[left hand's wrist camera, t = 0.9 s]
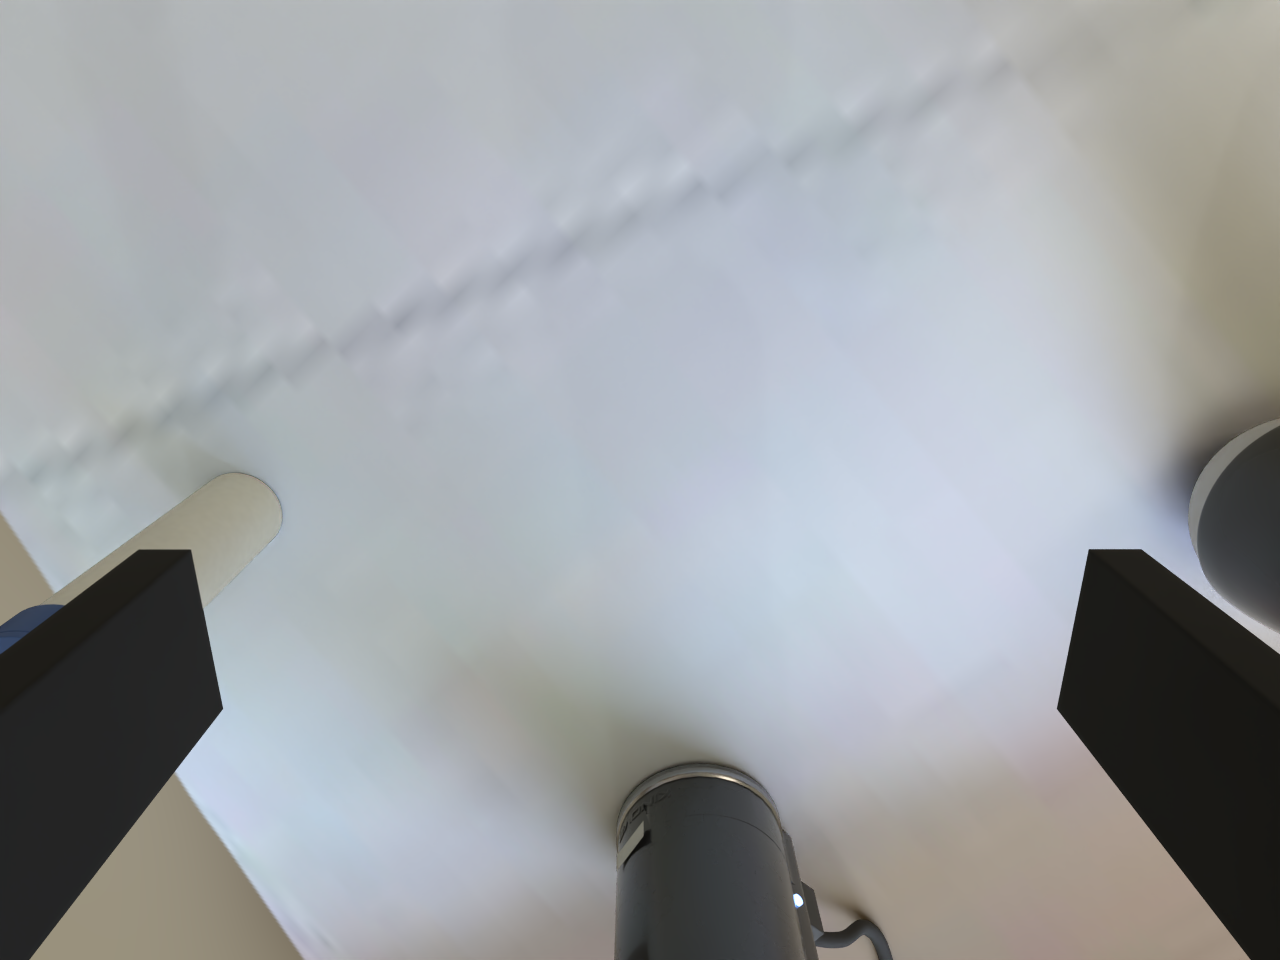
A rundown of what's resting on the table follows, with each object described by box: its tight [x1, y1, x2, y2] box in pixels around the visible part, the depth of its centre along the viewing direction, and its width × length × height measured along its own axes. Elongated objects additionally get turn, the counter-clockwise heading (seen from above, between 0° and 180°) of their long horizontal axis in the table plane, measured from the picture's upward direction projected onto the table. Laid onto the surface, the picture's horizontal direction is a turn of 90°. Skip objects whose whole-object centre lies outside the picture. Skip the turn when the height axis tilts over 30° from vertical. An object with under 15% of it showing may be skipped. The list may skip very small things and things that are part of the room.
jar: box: [40, 473, 282, 609], centre depth 35 cm, size 4×4×15 cm
